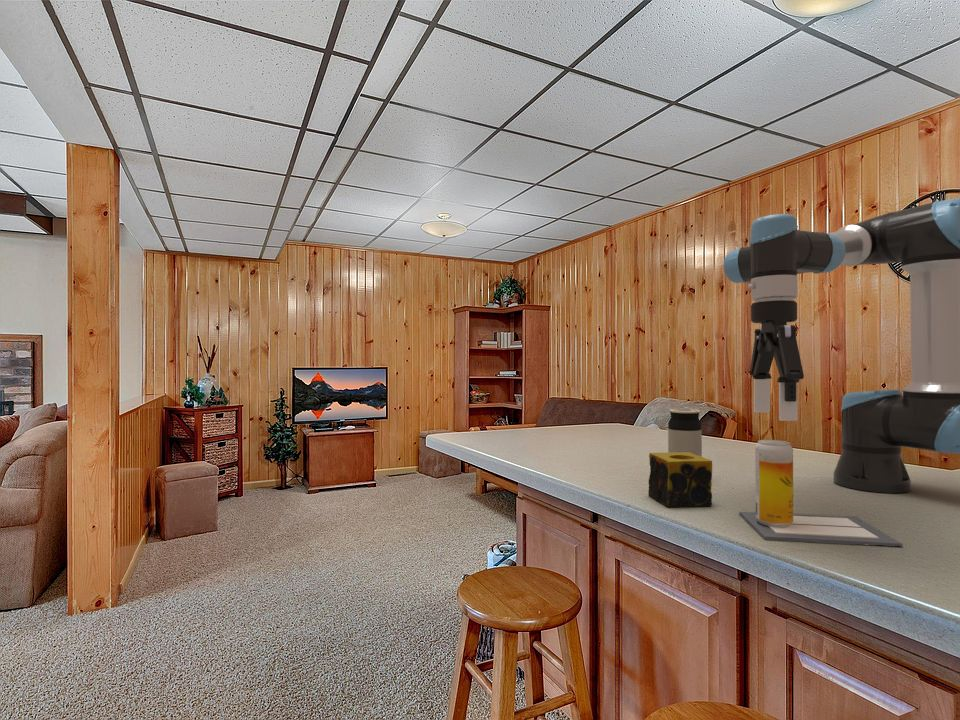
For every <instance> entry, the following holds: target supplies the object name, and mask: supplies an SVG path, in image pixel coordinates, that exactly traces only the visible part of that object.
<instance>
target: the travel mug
mask: <svg viewBox="0 0 960 720" xmlns="http://www.w3.org/2000/svg"><path fill="white" fill-rule="evenodd" d="M668 411H669V413H670V418H669V419H668V423H667V427H668V429H667V437H668V438H667V441H668V442H667V443H668V444H667V445H668V447H667V448H668V449H667V453H672V452H691V453H693V454H695V455H698V456H701V457H703V455H702V454H703V452H702V451H703V450H702V448H703V447H702V445H703V444H702V425H703V424H702V422H701V420H700V418H699V417H700V413H701V410H699V409H697V408H696V409H694V408H670V409H669V410H668Z"/></svg>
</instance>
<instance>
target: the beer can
mask: <svg viewBox="0 0 960 720" xmlns="http://www.w3.org/2000/svg"><path fill="white" fill-rule="evenodd" d="M756 443H757V444H756V445H755V453H754V454H755V455H754V456H755V462H754V463H755V512H756V518H757V519H758V520H759V522H760V523H761V524H764V525H767V526H772V527H788V526H790V524H791V523H792V522H793V514H794V448H793V446H792V445H791V442H789V441H785V440H777V439H759V440H757V442H756Z"/></svg>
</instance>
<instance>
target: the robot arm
mask: <svg viewBox="0 0 960 720" xmlns="http://www.w3.org/2000/svg"><path fill="white" fill-rule="evenodd" d="M748 243H749V245H748V246H742V247H739V248H737V249H734V250H731V251H729V252H728V253H727V254H726V256H725V258H724V259H723V260H724V261H723V270H724V274H725V275H724V276H726V278H727V279H728V280H729V281H730V282H732V283H735V284H741V283H742V284H743V283H749V284H747V289H749V290H750V299H751V300H752V301H754V302H753V303H751V304H750V321H751V323H753V324H761V328H755V329H754V342H753V348H752V349H753V350H752V356H751V362H750V367H749V368H750V369H749V375H750V376H752V379H753V412H754V413H771V379H772V375H771V373H770V370H771V367H772V363H773V361H775V364H776V368H777V371H778V374H779V377H777V381H776V383H778V421H780V422H781V421H783V422H786V421H787V422H789V421H790V422H799V421H798V419H799V416H798V415H799V408H798V406H799V404H798V403H799V402H798V398H799V396H798V393H799V392H798V390H799V389H798V384H799V382H800V380H803V379H804V377H805V375H804V369H803V364H802V361H801V355H800V351H799V344H798V340H797V329H796V328H797V327H796V325H794V324H789V325H788V324H787V323H795V322H796V321H797V320H798V302H797V301H795V299H797V298H798V296H799V295H798V292H799V291H798V282H799V281H798V279H799V278H798V275H800V274H801V275H802V274H807V273H812V274H826V273H827V274H828V273H830V272H833V271H835V270H836V269H837V268H839V267H840V266H844V267H854V266H861V265H863V266H864V265H876V264H877V265H880V264H881V265H883V264H885V265H886V264H893V263H901V269H902V270H903V271H905V272H906V273H907V274H908V275H909V288H910V289H909V292H910V293H909V296H910V297H909V298H910V299H909V300H910V302H909V303H910V357H911V358H910V359H911V361H910V365H911V367H910V368H911V369H910V373H911V376H910V377H911V379H910V380H911V381H910V383H909V384H907V385H906V386H905V387H904V388H903V390H902V392H901V389H885V390H884V389H883V390H868V391H855V392H854V391H853V392H847V393H845V394H844V395H843V396H842V400H841V408H840V412H841V453H840V455H839V459H838V461H837V463H836V466H835V468H834V471H833V483H834V484H836V485H838V486H842V487H844V488H848V489H852V490H853V489H854V490H857V491H858V490H860V491H866V492H874V493H884V494H885V493H888V494H889V493H890V494H892V493H893V494H896V493H897V494H898V493H899V494H901V493H908V492H910V491H912V481H911V478H910V475H909V473H908V471H907V468H906V465H905V462H904V460H903V457H902V448H909V449H918V450H926V451H933V452H937V453H940V454H957V455H958V454H959V455H960V197H956V198H955V197H954V198H950V199H945V200H944V199H943V200H936V201H934V202H930V203H925V204H921V205H917V206H913V207H910V208H906V209H902V210H897V211H896V210H895V211H891V212H888V213H884V214H881V215H878V216H874V217H872V218H869V219H867V220H863V221H861V222H857V223H854V224H848V225H844V226H842V227H840V228H838V229H837V230H836V231H833V232H824V231H820V232H819V231H818V232H817V231H809V230H801V229H799V225H798V222H797V217H796V216H794V214H789V213H776V214H769V215H764V216H761V217H759V218H757V219H754V220H753V221H752V223H751V226H750V237H749V241H748Z"/></svg>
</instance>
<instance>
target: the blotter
mask: <svg viewBox="0 0 960 720" xmlns="http://www.w3.org/2000/svg"><path fill="white" fill-rule="evenodd" d="M738 513H739V516H740V517H741V518H742V519H743V520H744V521H745V522H746V523H747V524H748V525H749V526H750V527H751V528H752V529H753V530H754V531H755V532H756V533H757V534H758V535H759V536H760V537H761V538H762V539H763V540H764V541H774V542H775V541H777V542H796V543H799V542H800V543H816V544H833V545H835V544H836V545H850V544H868V545H867V546H869V545H886V546H885V547H887V546H900V547H899V548H903V543H902V542H901V541H899V540H897V539H895V538H894V537H892V536H890V535H888V534H887V533H885V532H883V531H881V530H880V529H878V528H876V527H875V526H873V525H872V524H870V523H867V522H866V521H864V520H863V519H861V518H859V517H858V516H846V515H845V516H844V515H825V514H823V515H822V514H821V515H820V514H803V513H801V514H800V513H793V522H792V523H791V524H790V526H788V527H772V526H767V525H764V524H761V523H760V522H759V520H758V519H757V518H756V511H755V512H754V511H739V512H738Z"/></svg>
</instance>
